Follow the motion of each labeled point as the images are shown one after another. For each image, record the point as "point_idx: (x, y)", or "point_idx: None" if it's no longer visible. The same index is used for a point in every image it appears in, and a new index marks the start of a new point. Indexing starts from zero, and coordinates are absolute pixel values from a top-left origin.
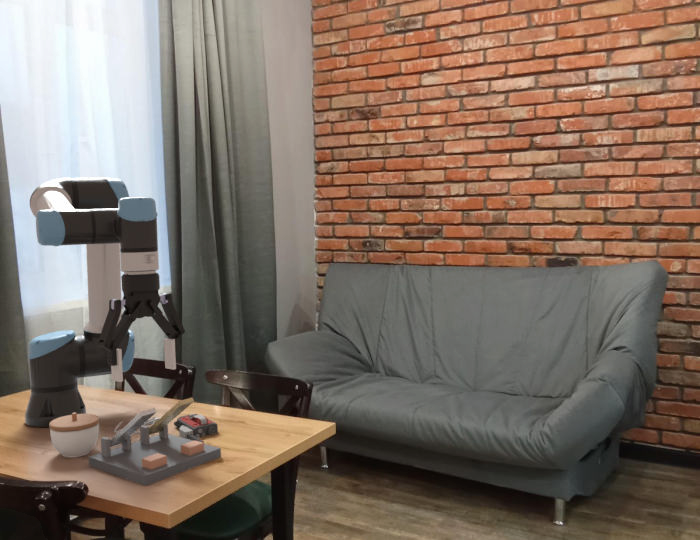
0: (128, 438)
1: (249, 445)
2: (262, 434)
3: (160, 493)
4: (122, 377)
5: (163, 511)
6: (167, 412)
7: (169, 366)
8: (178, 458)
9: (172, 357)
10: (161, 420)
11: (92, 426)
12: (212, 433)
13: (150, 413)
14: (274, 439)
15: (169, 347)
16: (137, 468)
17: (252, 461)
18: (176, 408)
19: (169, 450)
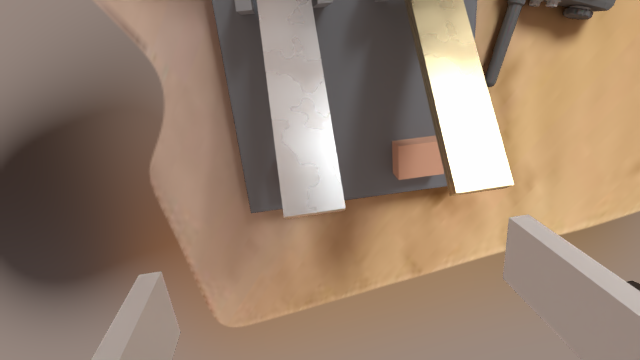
0: (320, 4)
1: (544, 159)
2: (621, 118)
3: (255, 255)
4: (173, 349)
5: (220, 320)
6: (435, 105)
7: (514, 260)
8: (363, 171)
9: (550, 324)
10: (421, 65)
11: None
12: (570, 16)
13: (318, 214)
14: (600, 168)
15: (609, 358)
16: (262, 159)
17: (471, 241)
18: (443, 162)
19: (386, 102)
